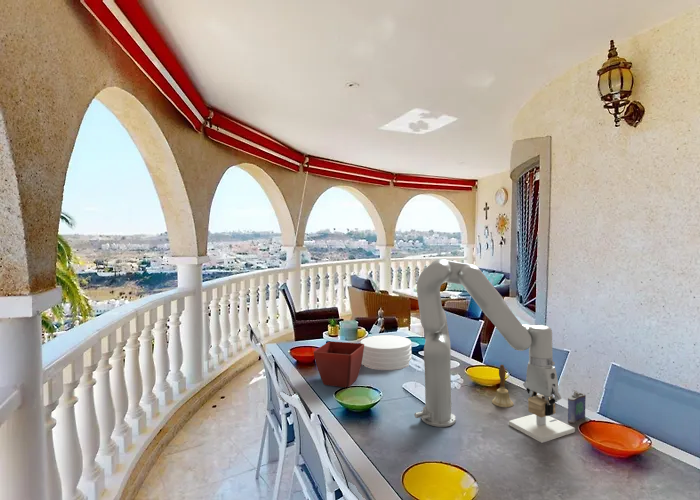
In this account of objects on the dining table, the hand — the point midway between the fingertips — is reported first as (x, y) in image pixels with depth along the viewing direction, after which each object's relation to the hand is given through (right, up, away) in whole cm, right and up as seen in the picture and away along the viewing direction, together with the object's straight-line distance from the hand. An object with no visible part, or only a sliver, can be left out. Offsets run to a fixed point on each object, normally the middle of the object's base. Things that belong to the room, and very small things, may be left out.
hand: (541, 411), depth 140 cm
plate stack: (-48, -5, +79) cm, 93 cm away
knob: (0, 0, 0) cm, 0 cm away
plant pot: (-73, -7, +50) cm, 88 cm away
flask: (+16, -6, +6) cm, 18 cm away
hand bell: (-5, -6, +22) cm, 23 cm away
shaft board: (0, -6, 0) cm, 6 cm away
